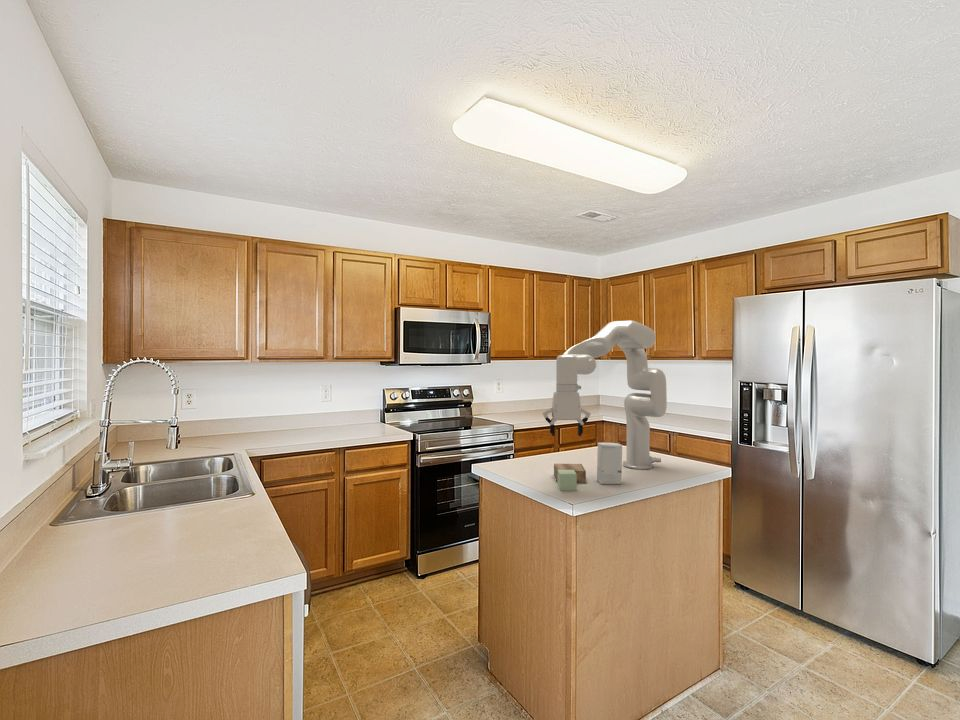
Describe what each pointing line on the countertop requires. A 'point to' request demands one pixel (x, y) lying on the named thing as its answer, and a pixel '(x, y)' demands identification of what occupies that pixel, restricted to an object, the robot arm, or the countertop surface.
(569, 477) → the sage cube
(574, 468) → the walnut block
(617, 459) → the skincare box
